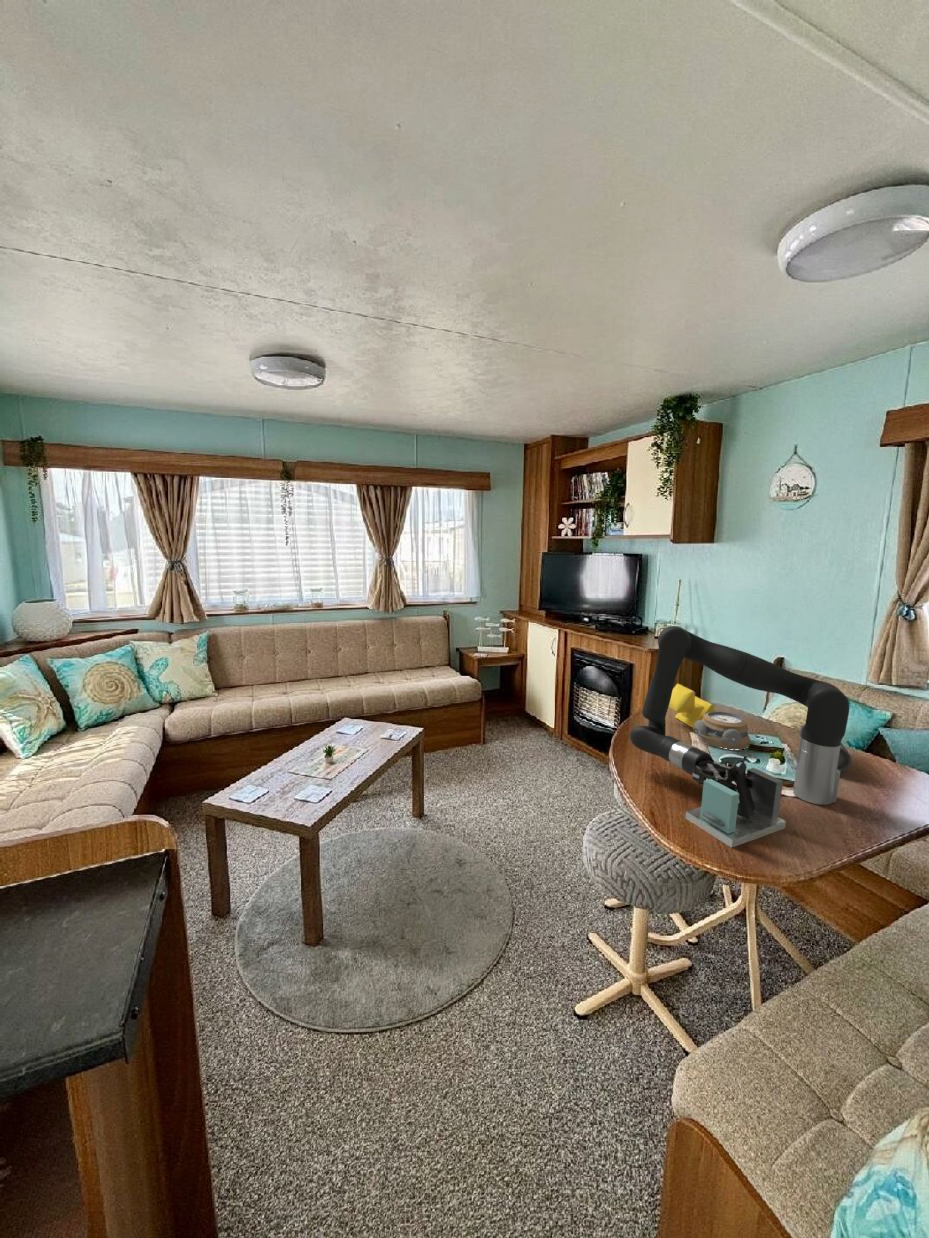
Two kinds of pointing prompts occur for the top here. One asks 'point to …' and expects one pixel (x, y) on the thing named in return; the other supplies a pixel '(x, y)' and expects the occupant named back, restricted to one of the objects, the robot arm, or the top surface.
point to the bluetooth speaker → (840, 757)
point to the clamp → (688, 705)
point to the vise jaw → (719, 805)
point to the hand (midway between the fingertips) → (744, 786)
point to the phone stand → (741, 789)
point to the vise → (761, 818)
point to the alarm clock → (723, 730)
